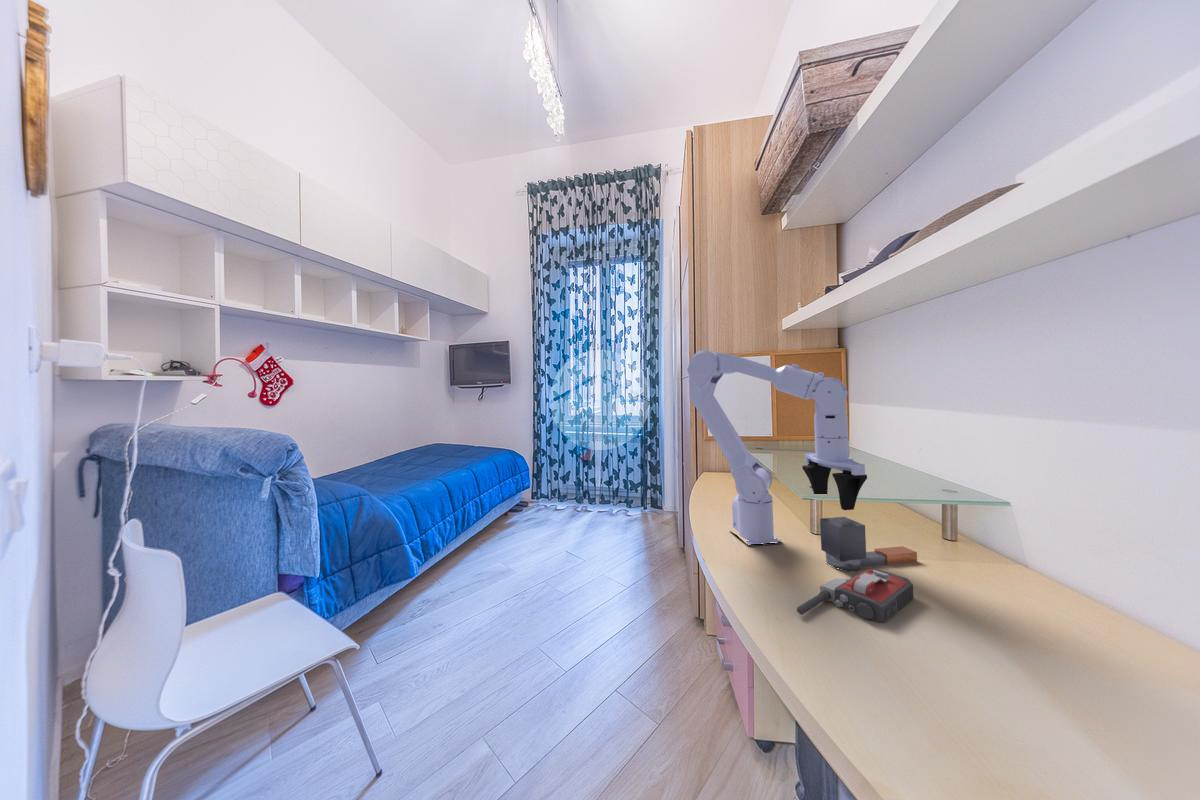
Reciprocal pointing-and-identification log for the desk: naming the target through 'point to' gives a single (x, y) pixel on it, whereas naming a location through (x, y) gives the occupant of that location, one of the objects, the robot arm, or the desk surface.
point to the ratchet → (875, 558)
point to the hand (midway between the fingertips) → (833, 503)
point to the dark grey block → (843, 538)
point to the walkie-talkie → (866, 594)
